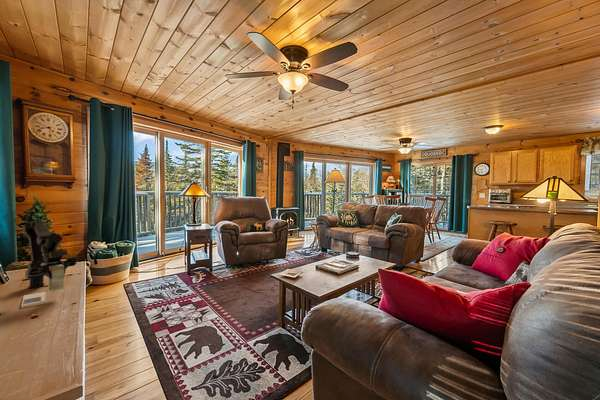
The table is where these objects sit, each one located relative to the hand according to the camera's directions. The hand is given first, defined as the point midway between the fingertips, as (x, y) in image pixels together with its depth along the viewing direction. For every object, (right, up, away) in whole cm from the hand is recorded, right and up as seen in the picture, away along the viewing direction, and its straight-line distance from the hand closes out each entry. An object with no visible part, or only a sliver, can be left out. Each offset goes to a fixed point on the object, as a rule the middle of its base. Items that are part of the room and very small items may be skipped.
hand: (57, 277), depth 130 cm
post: (-2, -7, +1) cm, 7 cm away
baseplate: (-10, -11, -2) cm, 15 cm away
